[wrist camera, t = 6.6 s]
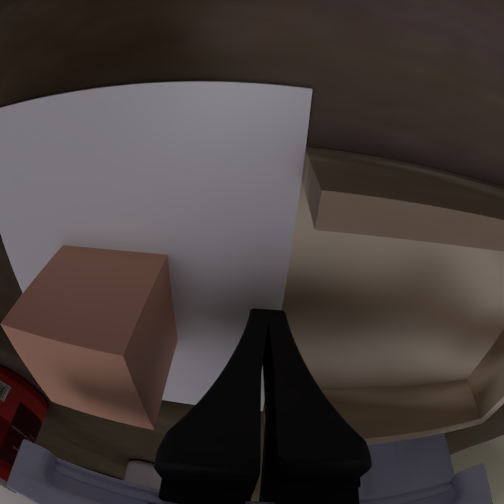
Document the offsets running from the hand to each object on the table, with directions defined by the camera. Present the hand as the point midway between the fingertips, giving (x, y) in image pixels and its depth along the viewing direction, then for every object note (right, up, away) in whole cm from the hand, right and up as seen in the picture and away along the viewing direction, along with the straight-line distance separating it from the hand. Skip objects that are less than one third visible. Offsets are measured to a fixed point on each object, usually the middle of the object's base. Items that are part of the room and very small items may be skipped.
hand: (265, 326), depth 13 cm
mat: (-6, +1, +1) cm, 7 cm away
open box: (+8, 0, +1) cm, 8 cm away
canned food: (-24, -10, +10) cm, 28 cm away
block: (-6, +1, +1) cm, 7 cm away
